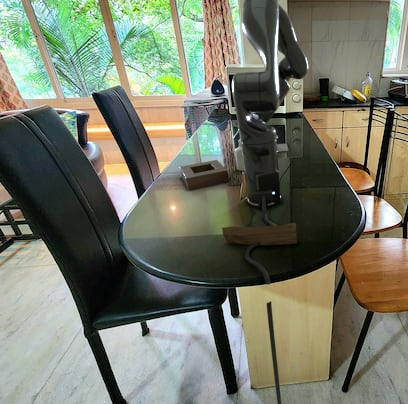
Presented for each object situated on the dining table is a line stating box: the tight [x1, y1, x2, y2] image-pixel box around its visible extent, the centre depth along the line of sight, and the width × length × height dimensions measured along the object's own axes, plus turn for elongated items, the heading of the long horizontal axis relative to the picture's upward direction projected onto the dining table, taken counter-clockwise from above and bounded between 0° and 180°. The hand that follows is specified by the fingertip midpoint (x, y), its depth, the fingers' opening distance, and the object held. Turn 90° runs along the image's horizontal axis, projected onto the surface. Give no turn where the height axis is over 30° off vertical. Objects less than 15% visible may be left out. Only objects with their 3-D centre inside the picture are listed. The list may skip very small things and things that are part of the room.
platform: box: [276, 135, 290, 153], centre depth 126 cm, size 12×18×7 cm, turn 96°
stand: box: [179, 159, 230, 191], centre depth 96 cm, size 13×13×4 cm
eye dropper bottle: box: [234, 140, 244, 172], centre depth 102 cm, size 4×6×12 cm
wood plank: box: [221, 222, 298, 246], centre depth 60 cm, size 15×2×5 cm, turn 91°
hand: (239, 142), depth 100 cm, fingers open, 8 cm apart
